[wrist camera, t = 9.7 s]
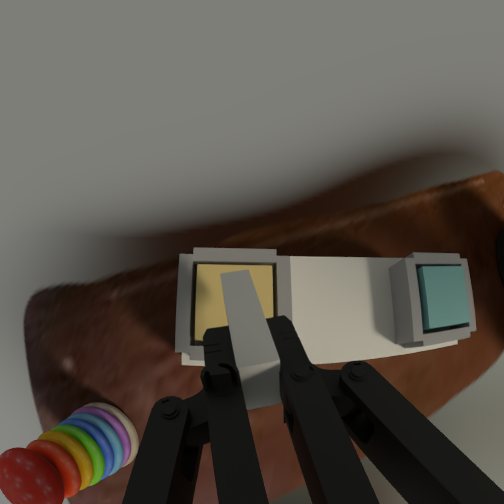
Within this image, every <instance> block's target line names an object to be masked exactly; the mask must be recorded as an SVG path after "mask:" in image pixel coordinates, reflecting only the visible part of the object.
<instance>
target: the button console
mask: <svg viewBox="0 0 504 504" xmlns="http://www.w3.org/2000/svg"><path fill="white" fill-rule="evenodd" d="M197 264H211V265H267V266H272V276H273V317H277V316H282V315H285V316H286V317H287V318H288V319H290V320H291V321H292V323H293V325H294V328H295V331H296V332H297V334H298V337H299V339H300V341H301V343H302V345H303V347H304V350H305V352H306V354H307V356H308V358H309V360H310V362H311V363H312V364H324V363H336V362H347V361H356V360H365V359H373V358H381V357H388V356H395V355H402V354H408V353H414V352H420V351H425V350H430V349H436V348H441V347H445V346H450V345H455V344H457V340H459V339H464V338H468V337H470V332H471V331H476V320H475V310H474V301H473V294H472V287H471V280H470V274H469V268H468V263H467V259H460V255H459V254H456V253H418V252H413V253H412V254H410V255H408V256H407V257H405V258H368V257H306V256H276V249H241V248H194V250H193V254H180V256H179V270H178V286H177V306H176V333H175V352H182V365H195V366H205V362H204V349H203V342H199V341H197V340H195V310H196V283H197ZM422 266H463V272H464V278H465V284H466V291H467V299H468V307H469V316H470V322H467V323H463V324H459V325H454V326H450V327H445V328H438V329H432V330H425V331H423V328H422V315H421V305H420V296H419V288H418V280H417V273H416V270H417V269H419V268H420V267H422Z"/></svg>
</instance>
